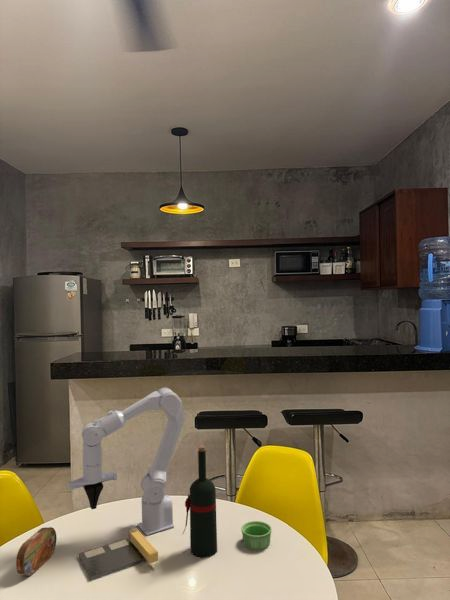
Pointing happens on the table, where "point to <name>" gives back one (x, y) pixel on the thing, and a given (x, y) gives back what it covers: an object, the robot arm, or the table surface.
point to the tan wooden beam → (143, 545)
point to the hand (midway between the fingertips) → (93, 507)
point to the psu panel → (110, 558)
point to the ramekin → (256, 534)
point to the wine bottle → (202, 512)
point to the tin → (36, 551)
